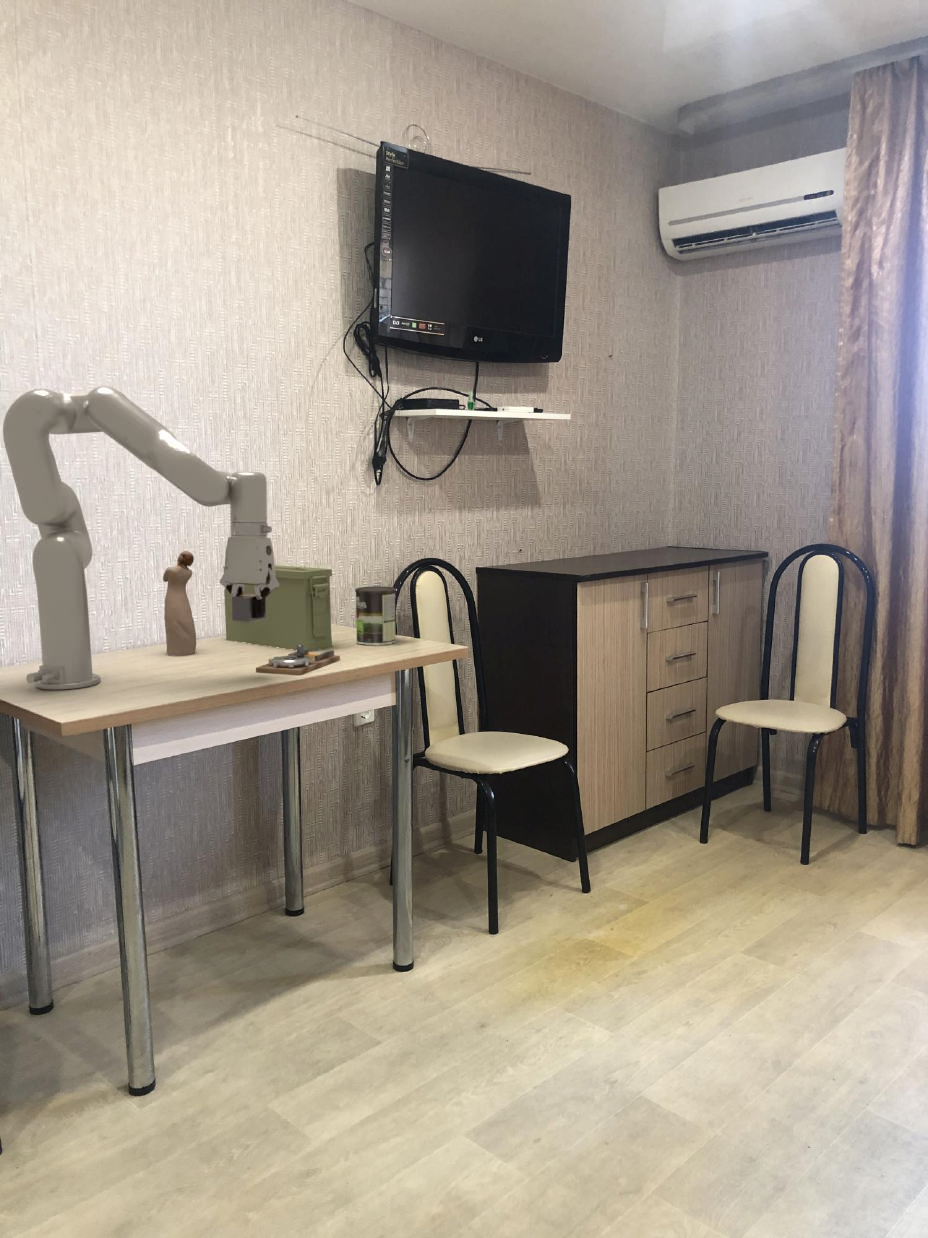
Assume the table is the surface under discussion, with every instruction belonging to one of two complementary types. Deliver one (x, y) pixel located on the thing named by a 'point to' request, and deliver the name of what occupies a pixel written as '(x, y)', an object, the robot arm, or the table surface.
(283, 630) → the ammunition box
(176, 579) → the figurine
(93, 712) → the table surface
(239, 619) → the charcoal rectangular block
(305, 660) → the sprocket
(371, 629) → the coffee can
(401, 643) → the table surface
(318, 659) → the board
